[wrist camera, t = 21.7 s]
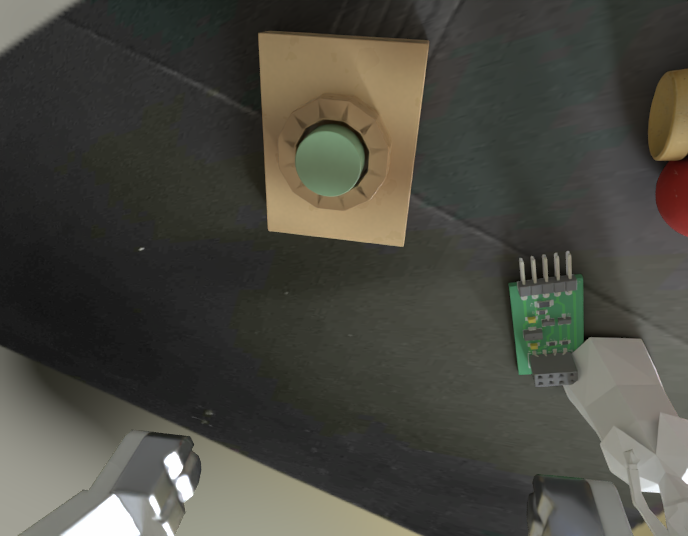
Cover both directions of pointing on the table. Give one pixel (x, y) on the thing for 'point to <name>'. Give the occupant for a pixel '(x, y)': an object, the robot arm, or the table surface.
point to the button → (330, 160)
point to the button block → (351, 112)
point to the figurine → (635, 425)
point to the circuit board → (548, 323)
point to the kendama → (671, 147)
